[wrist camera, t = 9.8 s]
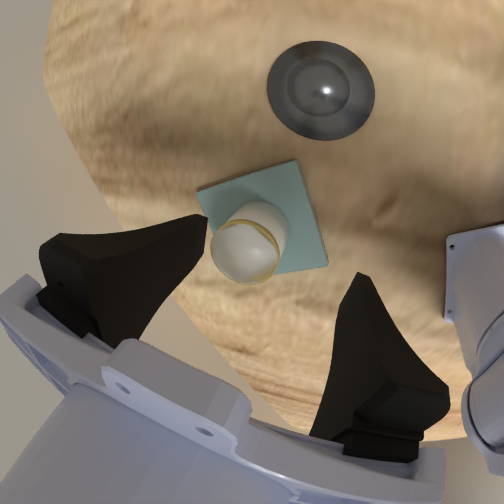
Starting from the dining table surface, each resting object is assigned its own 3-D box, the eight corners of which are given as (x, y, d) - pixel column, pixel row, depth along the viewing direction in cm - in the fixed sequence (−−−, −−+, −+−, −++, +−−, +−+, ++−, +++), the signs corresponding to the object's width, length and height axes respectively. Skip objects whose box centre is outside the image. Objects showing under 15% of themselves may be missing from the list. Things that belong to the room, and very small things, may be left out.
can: (274, 263, 24) (259, 295, 20) (225, 235, 24) (202, 262, 21) (301, 219, 21) (290, 247, 18) (246, 188, 21) (223, 209, 18)
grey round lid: (387, 127, 16) (393, 129, 14) (290, 151, 20) (283, 157, 18) (351, 31, 13) (351, 21, 11) (254, 61, 17) (242, 56, 15)
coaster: (328, 261, 23) (327, 266, 22) (237, 275, 27) (234, 280, 26) (297, 159, 20) (295, 160, 19) (199, 190, 24) (195, 193, 23)
